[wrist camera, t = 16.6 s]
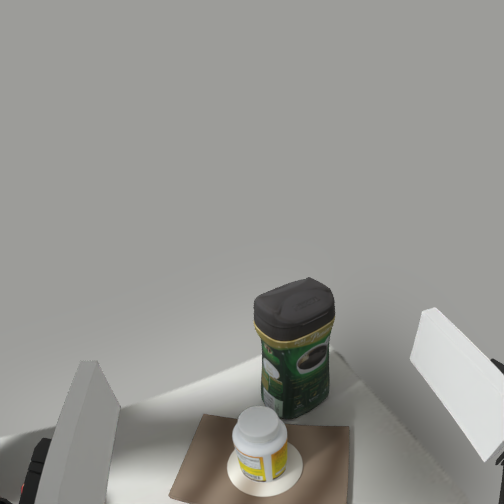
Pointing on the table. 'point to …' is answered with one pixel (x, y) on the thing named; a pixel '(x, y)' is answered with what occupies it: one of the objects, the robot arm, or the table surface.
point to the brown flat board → (271, 493)
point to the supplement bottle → (261, 444)
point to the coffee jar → (295, 345)
